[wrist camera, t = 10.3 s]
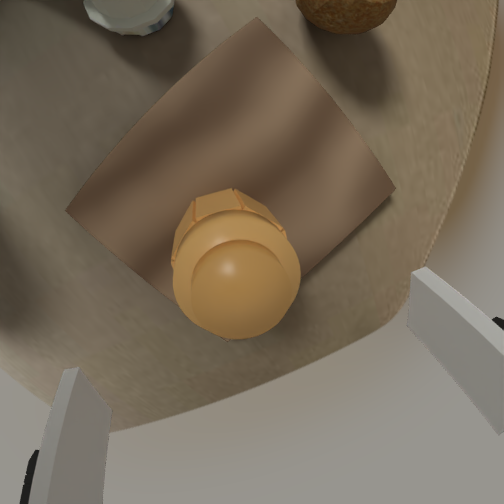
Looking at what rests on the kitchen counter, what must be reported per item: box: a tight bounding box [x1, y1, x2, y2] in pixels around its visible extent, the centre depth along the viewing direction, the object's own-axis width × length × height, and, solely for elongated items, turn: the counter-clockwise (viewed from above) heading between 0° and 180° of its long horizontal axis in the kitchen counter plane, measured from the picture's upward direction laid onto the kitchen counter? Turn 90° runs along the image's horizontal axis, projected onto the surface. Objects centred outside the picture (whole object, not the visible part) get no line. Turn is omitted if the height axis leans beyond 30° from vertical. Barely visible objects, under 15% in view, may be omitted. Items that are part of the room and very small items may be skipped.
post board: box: [65, 17, 396, 342], centre depth 19 cm, size 16×18×6 cm
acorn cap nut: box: [171, 188, 301, 339], centre depth 18 cm, size 6×6×8 cm
